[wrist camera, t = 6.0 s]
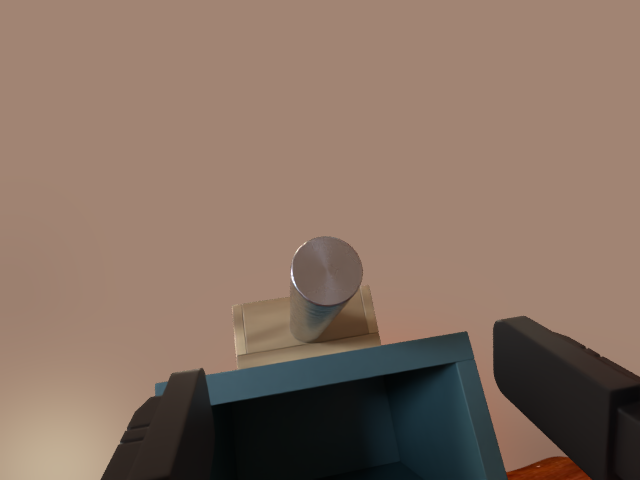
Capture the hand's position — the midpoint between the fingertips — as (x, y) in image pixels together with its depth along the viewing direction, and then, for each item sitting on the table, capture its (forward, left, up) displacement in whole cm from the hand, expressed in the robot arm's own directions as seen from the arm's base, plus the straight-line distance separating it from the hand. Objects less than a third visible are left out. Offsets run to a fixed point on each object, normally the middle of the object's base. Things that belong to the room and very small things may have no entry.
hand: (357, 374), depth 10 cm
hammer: (-7, +15, +1) cm, 17 cm away
